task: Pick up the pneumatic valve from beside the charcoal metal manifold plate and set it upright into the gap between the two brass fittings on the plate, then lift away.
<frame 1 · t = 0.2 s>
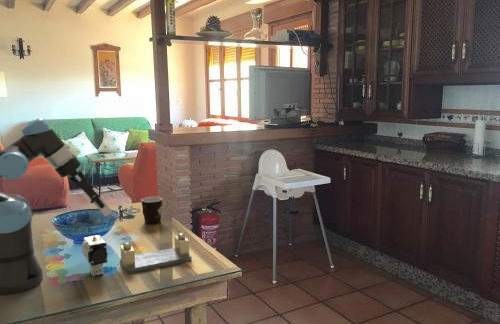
hand: (104, 209, 148), 15 cm above the table, tool tilted 35°, fingers open, 13 cm apart
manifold: (156, 261, 142), on the table
coffee mug: (149, 223, 180), on the table
pneumatic valve: (95, 274, 133), on the table
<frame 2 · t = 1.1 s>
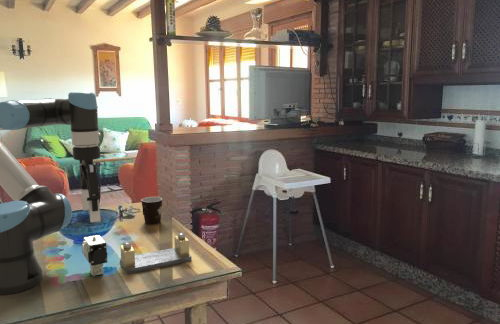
hand: (91, 215, 130), 19 cm above the table, tool pointing down, fingers open, 13 cm apart
nothing on the table moved.
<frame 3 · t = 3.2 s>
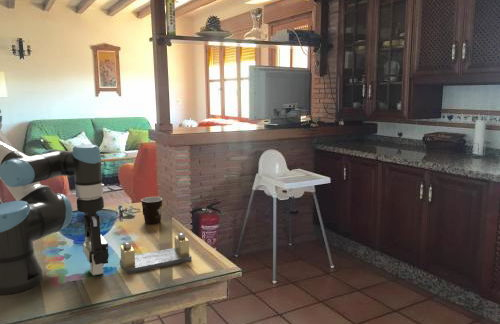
hand: (95, 266, 132), 2 cm above the table, tool pointing down, fingers closed on pneumatic valve, 11 cm apart
pneumatic valve: (95, 273, 133), on the table, touching gripper
everything else where it was.
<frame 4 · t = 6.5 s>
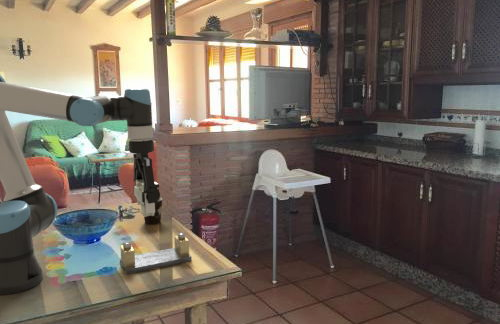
hand: (145, 208, 137), 19 cm above the table, tool pointing down, fingers closed on pneumatic valve, 11 cm apart
pneumatic valve: (146, 215, 137), point 16 cm above the table, touching gripper
everything else where it was.
when the fingers open (5 cm above the table, at t = 9.6 s): pneumatic valve drops 2 cm, resting on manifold.
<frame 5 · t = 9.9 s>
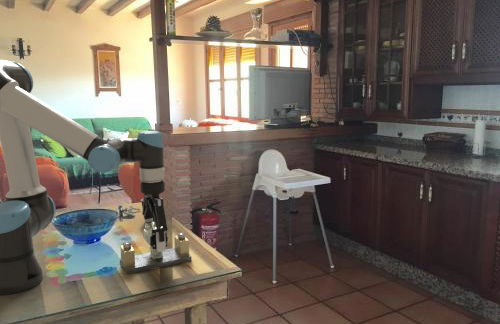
hand: (155, 243, 140), 6 cm above the table, tool pointing down, fingers open, 13 cm apart
pneumatic valve: (155, 258, 141), point 1 cm above the table, touching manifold
everything else where it was.
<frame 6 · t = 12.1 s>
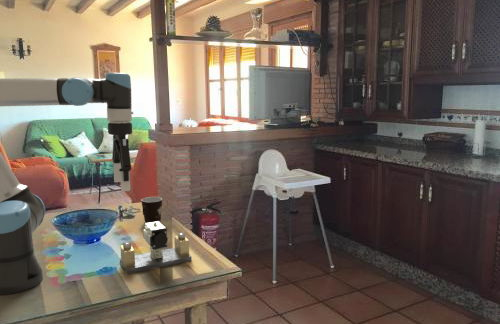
hand: (122, 186, 142), 24 cm above the table, tool pointing down, fingers open, 13 cm apart
nothing on the table moved.
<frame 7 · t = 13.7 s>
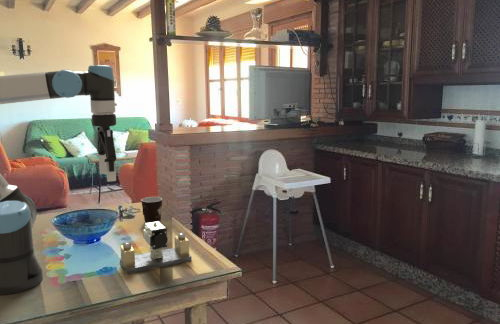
hand: (107, 177, 145), 27 cm above the table, tool pointing down, fingers open, 13 cm apart
nothing on the table moved.
at the end: pneumatic valve 0.2 cm off-centre on the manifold, point 1.3 cm above the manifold's base; pneumatic valve tilted 0°; the gripper is holding nothing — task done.
